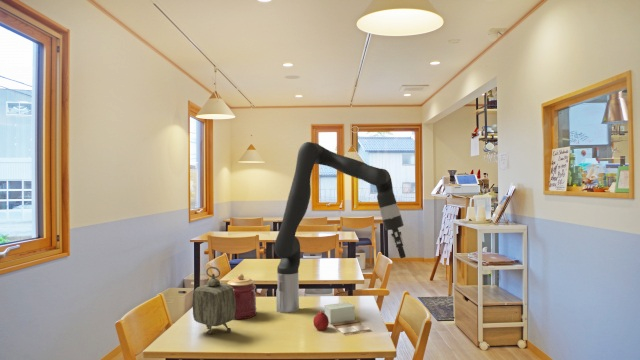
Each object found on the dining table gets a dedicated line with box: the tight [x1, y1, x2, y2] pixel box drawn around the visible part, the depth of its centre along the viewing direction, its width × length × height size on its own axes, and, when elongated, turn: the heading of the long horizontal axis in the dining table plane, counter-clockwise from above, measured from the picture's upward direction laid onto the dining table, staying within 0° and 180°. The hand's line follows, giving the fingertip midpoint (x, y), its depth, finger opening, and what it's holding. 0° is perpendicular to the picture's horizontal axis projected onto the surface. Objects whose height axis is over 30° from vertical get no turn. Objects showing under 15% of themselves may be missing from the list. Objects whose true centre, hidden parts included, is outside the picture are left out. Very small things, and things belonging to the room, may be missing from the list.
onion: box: [312, 310, 330, 331], centre depth 165 cm, size 6×6×8 cm
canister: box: [226, 273, 257, 320], centre depth 187 cm, size 13×13×18 cm
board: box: [329, 319, 373, 337], centre depth 170 cm, size 11×22×1 cm, turn 21°
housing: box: [324, 301, 356, 324], centre depth 176 cm, size 11×6×6 cm, turn 111°
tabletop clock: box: [192, 266, 235, 335], centre depth 166 cm, size 14×9×25 cm, turn 59°
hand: (402, 256), depth 172 cm, fingers open, 8 cm apart
